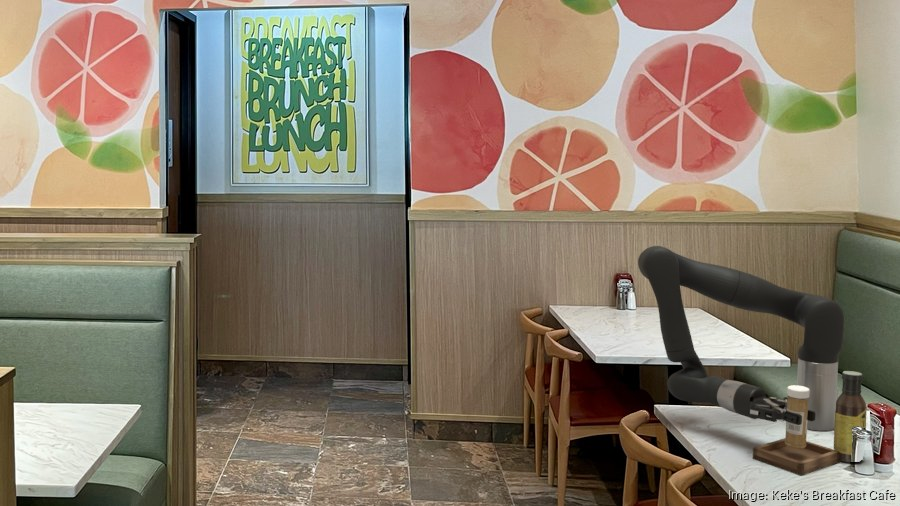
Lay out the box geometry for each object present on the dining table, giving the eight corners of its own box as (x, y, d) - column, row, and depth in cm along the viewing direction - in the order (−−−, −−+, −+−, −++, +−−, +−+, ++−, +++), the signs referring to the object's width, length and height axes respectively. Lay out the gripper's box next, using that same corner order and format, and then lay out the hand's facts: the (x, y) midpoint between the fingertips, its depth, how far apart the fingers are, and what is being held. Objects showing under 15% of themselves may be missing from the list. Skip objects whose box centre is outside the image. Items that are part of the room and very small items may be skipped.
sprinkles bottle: (810, 446, 172) (814, 388, 171) (798, 450, 170) (802, 391, 168) (791, 440, 176) (795, 383, 175) (779, 444, 174) (783, 386, 172)
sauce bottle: (866, 465, 170) (871, 377, 168) (835, 463, 172) (839, 375, 170) (860, 455, 176) (865, 370, 174) (830, 452, 178) (834, 368, 176)
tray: (790, 446, 182) (791, 436, 182) (839, 462, 172) (839, 451, 172) (752, 458, 175) (753, 447, 174) (801, 475, 165) (801, 464, 164)
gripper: (723, 387, 180) (788, 407, 166) (761, 379, 188) (827, 397, 173) (721, 418, 181) (786, 440, 167) (760, 409, 189) (825, 429, 174)
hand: (807, 418), depth 170 cm, fingers closed on sprinkles bottle, 4 cm apart
